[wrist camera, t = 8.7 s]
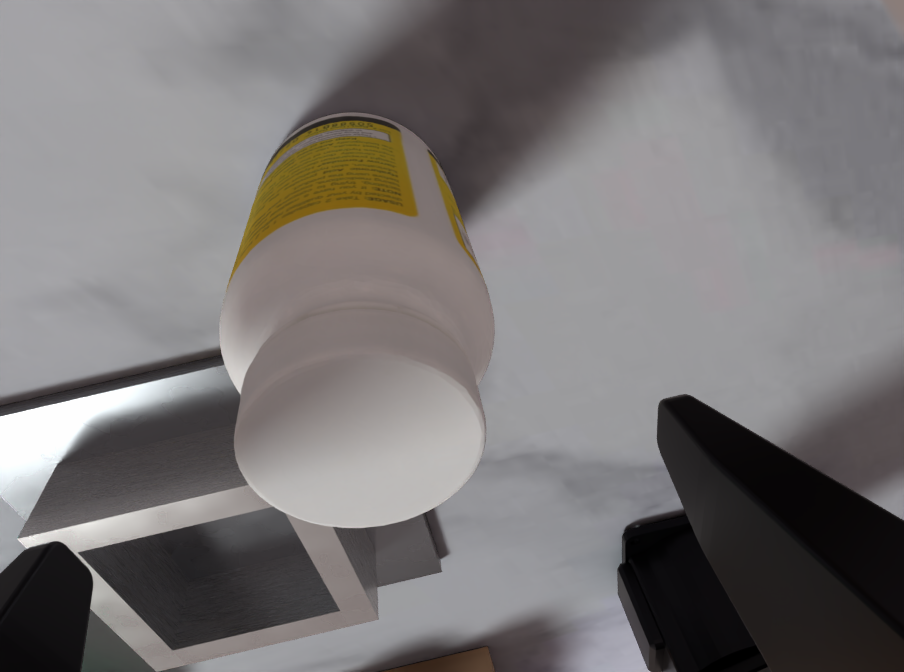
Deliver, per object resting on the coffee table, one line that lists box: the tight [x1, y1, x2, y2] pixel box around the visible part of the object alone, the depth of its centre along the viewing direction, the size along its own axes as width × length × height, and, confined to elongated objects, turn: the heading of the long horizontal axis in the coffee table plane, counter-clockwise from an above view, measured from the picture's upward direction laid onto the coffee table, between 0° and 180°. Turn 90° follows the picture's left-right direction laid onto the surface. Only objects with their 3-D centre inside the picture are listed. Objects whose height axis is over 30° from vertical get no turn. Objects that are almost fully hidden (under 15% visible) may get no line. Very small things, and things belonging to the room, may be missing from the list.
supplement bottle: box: [219, 112, 495, 528], centre depth 13 cm, size 5×5×10 cm
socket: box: [0, 355, 442, 672], centre depth 22 cm, size 14×14×4 cm
